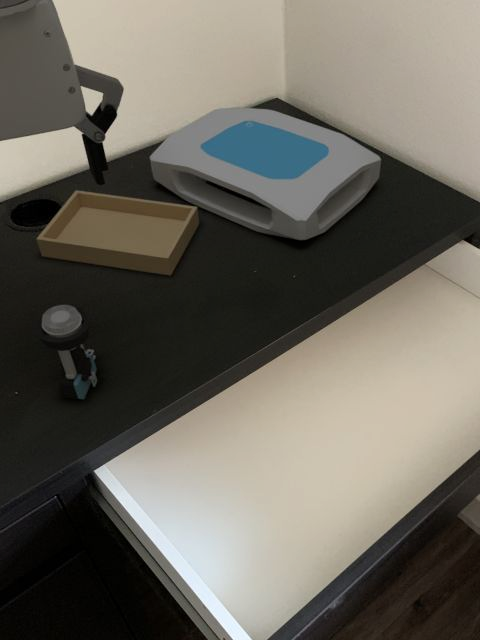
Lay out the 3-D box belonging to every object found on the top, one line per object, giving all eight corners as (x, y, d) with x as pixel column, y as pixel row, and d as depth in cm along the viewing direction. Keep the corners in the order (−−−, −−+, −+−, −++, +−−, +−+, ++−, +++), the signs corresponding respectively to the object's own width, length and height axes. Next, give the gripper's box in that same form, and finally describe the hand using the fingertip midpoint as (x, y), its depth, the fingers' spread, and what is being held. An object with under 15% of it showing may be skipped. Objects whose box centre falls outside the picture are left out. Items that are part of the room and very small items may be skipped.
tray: (41, 256, 89) (35, 238, 87) (80, 207, 97) (75, 190, 95) (170, 275, 87) (168, 258, 85) (199, 223, 95) (197, 206, 92)
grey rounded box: (302, 252, 90) (303, 212, 86) (151, 187, 101) (144, 148, 96) (380, 185, 102) (384, 147, 97) (237, 133, 112) (235, 96, 108)
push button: (72, 356, 76) (49, 288, 69) (117, 361, 76) (98, 293, 69) (51, 399, 72) (24, 331, 65) (98, 404, 72) (77, 337, 64)
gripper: (88, -48, 53) (127, 152, 66) (-148, -22, 48) (-57, 189, 61) (112, -20, 49) (148, 189, 62) (-146, 12, 44) (-48, 232, 57)
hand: (46, 189), depth 61 cm, fingers open, 9 cm apart
